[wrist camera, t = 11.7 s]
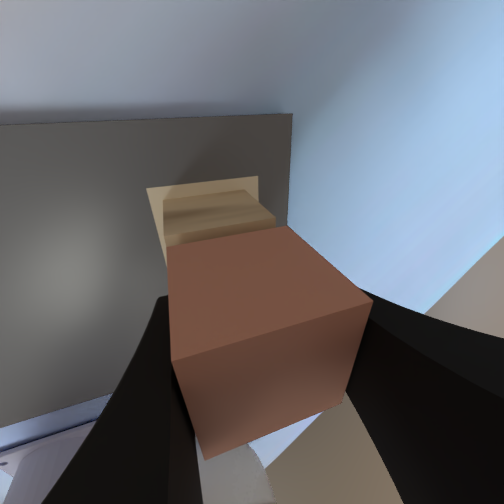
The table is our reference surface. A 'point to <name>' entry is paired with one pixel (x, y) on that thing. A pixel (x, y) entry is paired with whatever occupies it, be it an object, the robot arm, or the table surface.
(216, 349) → the terracotta block
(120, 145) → the plate
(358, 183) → the table surface
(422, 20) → the table surface
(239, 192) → the maple block
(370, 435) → the robot arm
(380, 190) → the table surface
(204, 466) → the lidded bowl
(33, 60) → the table surface
